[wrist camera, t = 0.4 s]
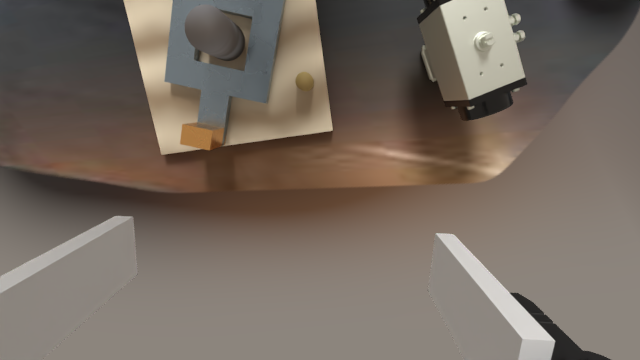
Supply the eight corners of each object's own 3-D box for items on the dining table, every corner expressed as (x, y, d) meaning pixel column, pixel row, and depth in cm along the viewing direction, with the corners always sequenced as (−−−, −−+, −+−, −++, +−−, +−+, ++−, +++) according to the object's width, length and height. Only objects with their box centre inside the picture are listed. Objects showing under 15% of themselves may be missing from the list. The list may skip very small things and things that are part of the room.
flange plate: (181, -27, 34) (156, -49, 29) (286, -4, 35) (279, -22, 30) (164, 131, 38) (139, 135, 33) (259, 152, 38) (249, 158, 33)
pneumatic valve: (435, 118, 38) (482, 124, 27) (400, 16, 36) (435, -28, 24) (482, 99, 38) (551, 96, 26) (450, -6, 35) (510, -61, 24)
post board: (116, -52, 35) (64, -92, 28) (304, -86, 34) (297, -135, 27) (166, 153, 40) (131, 163, 33) (332, 129, 39) (333, 135, 32)
